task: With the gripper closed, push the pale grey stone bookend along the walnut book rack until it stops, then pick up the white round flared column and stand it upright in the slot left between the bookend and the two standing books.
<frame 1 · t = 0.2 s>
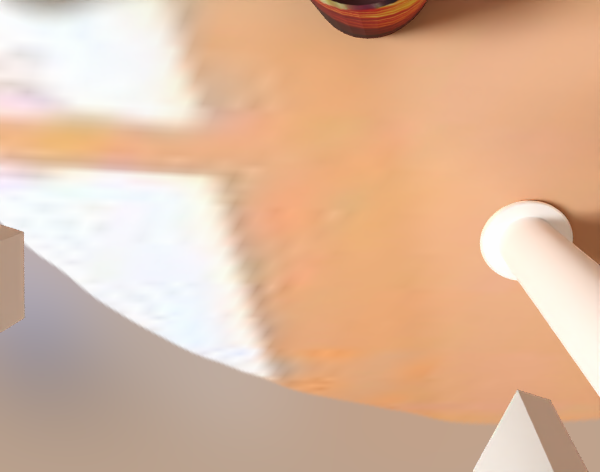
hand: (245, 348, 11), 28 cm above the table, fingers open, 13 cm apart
white round flared column: (522, 239, 36), on the table
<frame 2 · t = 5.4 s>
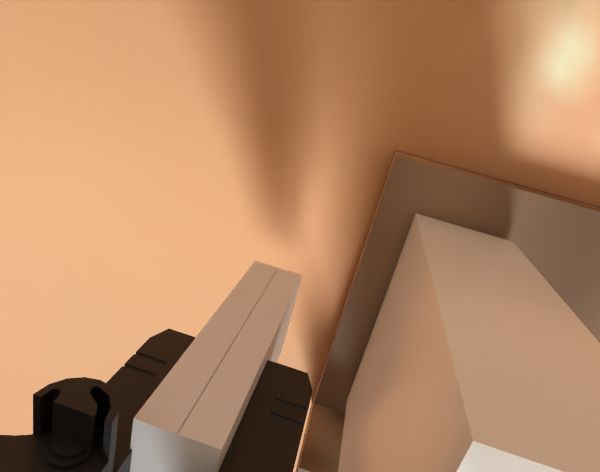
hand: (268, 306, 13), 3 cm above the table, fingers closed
bookend: (436, 430, 10), point 6 cm above the table, slide at 0.6 cm, touching gripper
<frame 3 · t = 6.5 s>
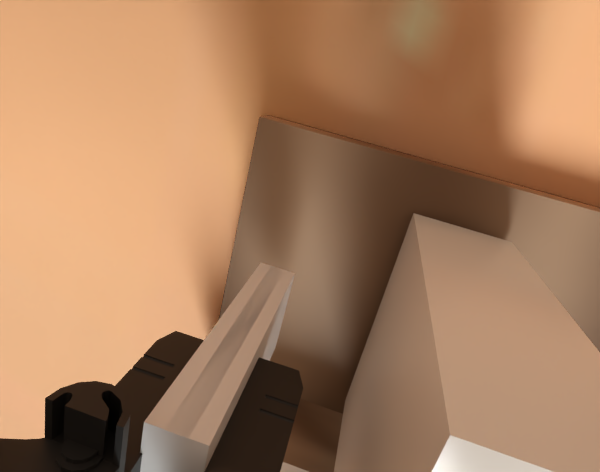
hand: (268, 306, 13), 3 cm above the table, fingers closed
bookend: (429, 429, 10), point 6 cm above the table, slide at 5.0 cm, touching gripper
rack: (554, 361, 15), on the table
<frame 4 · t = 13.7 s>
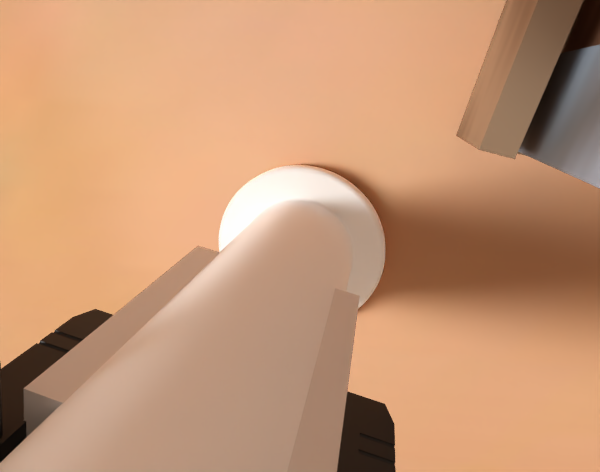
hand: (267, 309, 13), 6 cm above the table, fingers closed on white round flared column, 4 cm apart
white round flared column: (302, 244, 18), on the table, touching gripper
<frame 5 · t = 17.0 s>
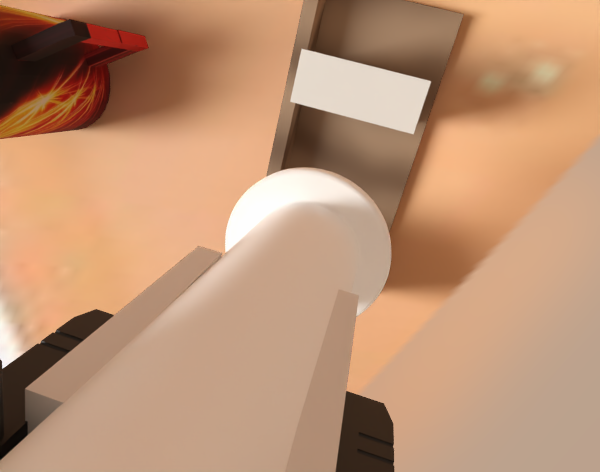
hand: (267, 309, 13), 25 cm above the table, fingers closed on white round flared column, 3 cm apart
mug: (76, 59, 38), on the table
bookend: (362, 91, 28), point 6 cm above the table, slide at 4.7 cm
rack: (345, 154, 36), on the table
white round flared column: (308, 246, 18), point 19 cm above the table, touching gripper
when the fingers open (8 cm above the table, at t = 20.3 s): white round flared column drops 1 cm, resting on rack.
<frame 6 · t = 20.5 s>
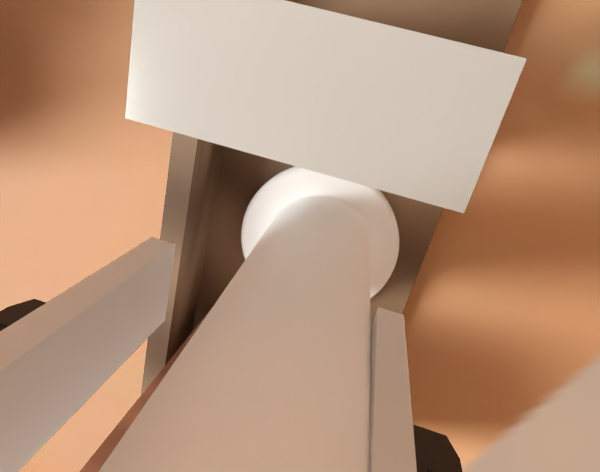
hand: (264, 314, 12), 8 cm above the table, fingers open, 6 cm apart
bookend: (331, 91, 12), point 6 cm above the table, slide at 4.7 cm
rack: (313, 204, 20), on the table
white round flared column: (319, 237, 19), point 1 cm above the table, touching rack
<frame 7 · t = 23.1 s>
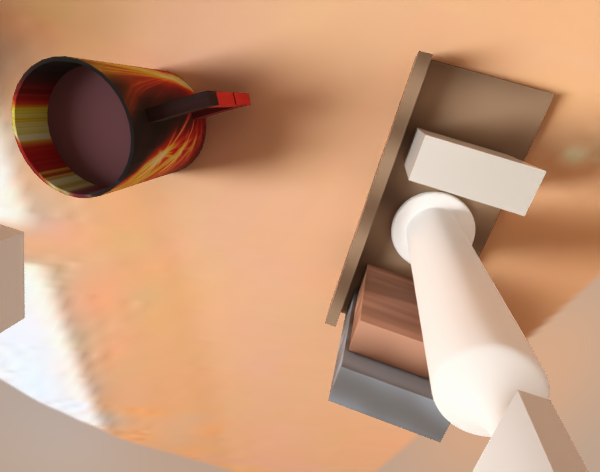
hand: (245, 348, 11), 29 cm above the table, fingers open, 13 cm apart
mug: (174, 108, 40), on the table
bookend: (463, 165, 30), point 6 cm above the table, slide at 4.7 cm
rack: (426, 212, 38), on the table
white round flared column: (431, 229, 37), point 1 cm above the table, touching rack
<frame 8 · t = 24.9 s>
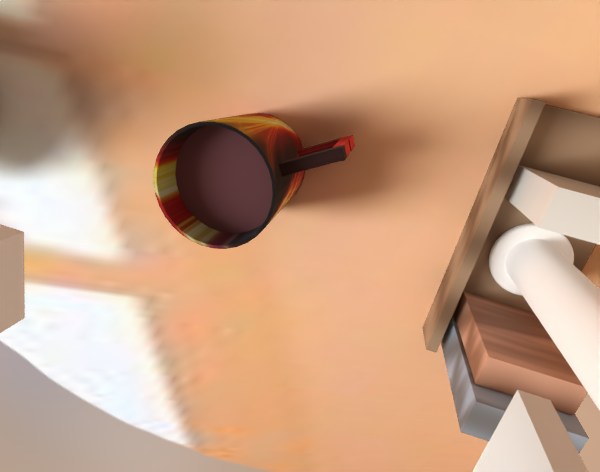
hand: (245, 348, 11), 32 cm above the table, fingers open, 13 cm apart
mug: (274, 149, 41), on the table
bookend: (576, 206, 32), point 6 cm above the table, slide at 4.7 cm
rack: (522, 241, 39), on the table
white round flared column: (528, 258, 39), point 1 cm above the table, touching rack
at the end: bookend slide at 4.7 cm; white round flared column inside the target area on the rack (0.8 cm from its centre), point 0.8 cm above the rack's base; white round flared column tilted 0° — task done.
